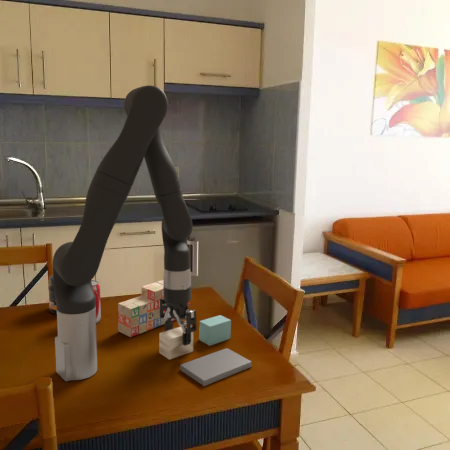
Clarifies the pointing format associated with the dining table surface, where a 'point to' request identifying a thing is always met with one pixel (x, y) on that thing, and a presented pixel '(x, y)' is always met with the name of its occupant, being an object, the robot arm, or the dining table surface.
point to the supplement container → (52, 296)
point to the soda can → (97, 299)
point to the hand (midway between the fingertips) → (177, 339)
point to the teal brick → (214, 330)
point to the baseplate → (215, 366)
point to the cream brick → (174, 343)
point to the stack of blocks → (141, 311)
